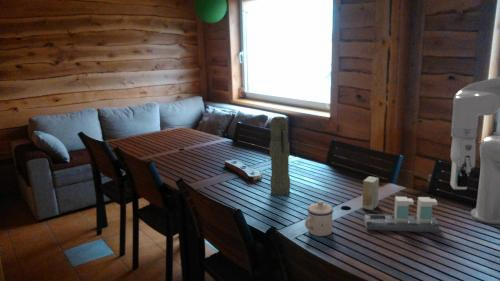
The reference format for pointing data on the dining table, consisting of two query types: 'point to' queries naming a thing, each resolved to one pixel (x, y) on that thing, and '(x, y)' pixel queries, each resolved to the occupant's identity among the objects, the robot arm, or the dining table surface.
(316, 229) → the teacup with lid
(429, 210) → the cream block teal side
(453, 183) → the finger loose
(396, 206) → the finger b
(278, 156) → the thermos
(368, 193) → the skincare box
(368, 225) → the rail
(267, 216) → the dining table surface
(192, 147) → the dining table surface
